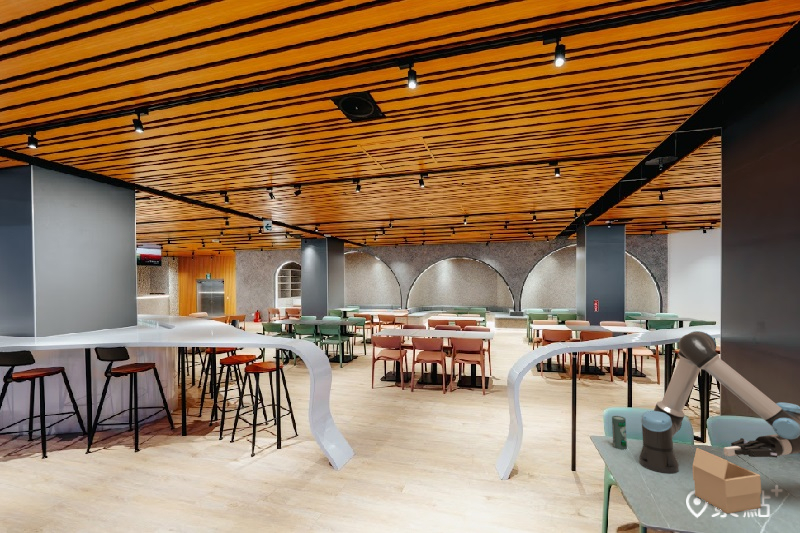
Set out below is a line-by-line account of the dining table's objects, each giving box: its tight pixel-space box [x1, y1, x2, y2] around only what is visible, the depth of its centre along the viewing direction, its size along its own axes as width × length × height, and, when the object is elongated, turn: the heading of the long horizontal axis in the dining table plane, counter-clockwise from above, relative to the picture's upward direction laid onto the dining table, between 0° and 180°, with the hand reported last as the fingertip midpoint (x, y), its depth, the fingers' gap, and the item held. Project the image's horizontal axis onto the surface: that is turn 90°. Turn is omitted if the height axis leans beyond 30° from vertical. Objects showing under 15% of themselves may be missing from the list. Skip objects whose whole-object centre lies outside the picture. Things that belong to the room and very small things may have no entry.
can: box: [611, 415, 628, 451], centre depth 198 cm, size 6×6×15 cm
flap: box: [692, 447, 729, 480], centre depth 146 cm, size 7×12×1 cm
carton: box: [691, 461, 762, 514], centre depth 147 cm, size 16×13×12 cm
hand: (725, 451), depth 147 cm, fingers closed
